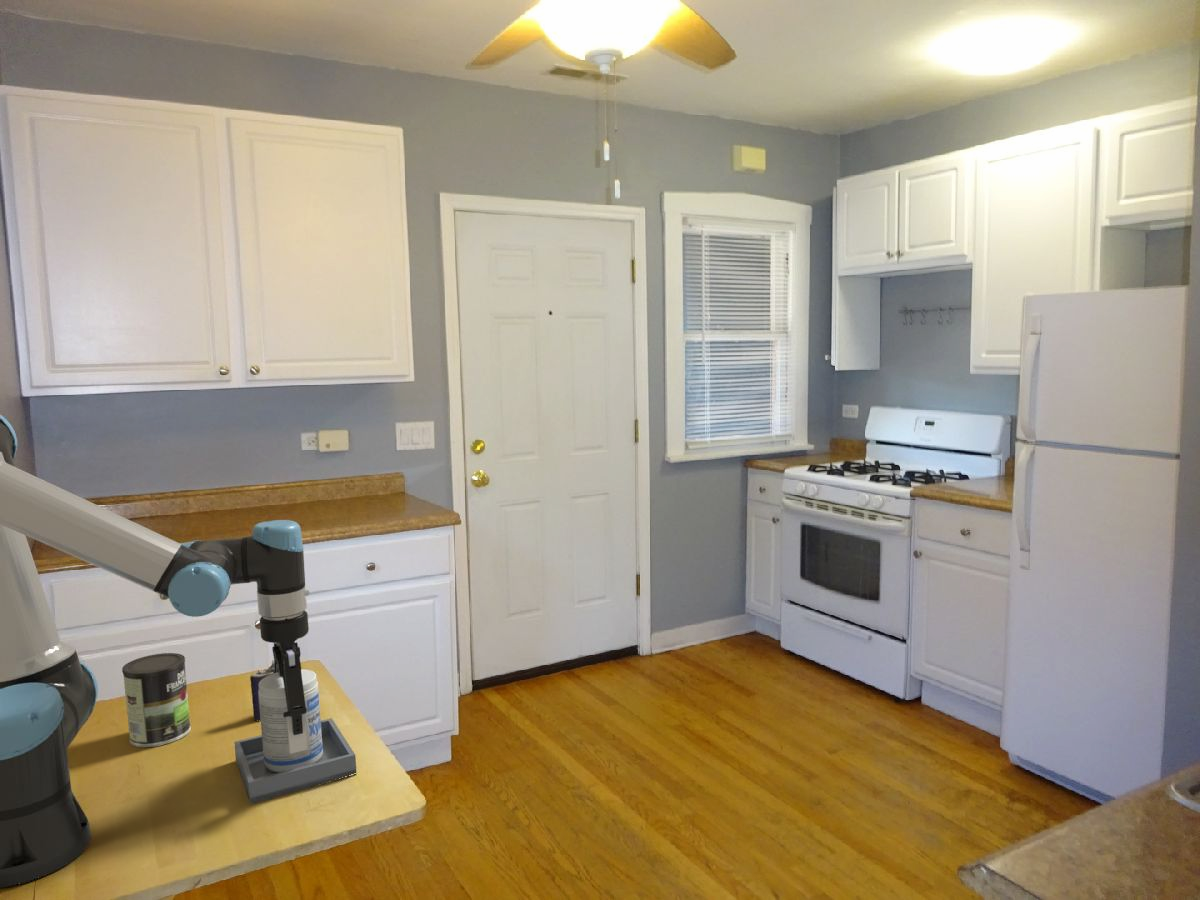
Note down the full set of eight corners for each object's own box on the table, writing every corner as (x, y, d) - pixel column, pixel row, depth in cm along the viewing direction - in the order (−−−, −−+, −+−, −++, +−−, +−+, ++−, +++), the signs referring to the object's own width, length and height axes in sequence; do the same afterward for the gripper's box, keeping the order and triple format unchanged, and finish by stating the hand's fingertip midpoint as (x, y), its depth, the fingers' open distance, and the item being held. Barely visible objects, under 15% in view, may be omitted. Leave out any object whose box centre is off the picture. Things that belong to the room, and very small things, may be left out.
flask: (296, 703, 168) (293, 652, 167) (303, 707, 166) (299, 656, 165) (251, 719, 162) (247, 666, 160) (257, 723, 160) (253, 670, 158)
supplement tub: (326, 767, 140) (320, 683, 138) (265, 780, 136) (259, 694, 134) (319, 743, 149) (314, 664, 147) (262, 755, 145) (256, 674, 143)
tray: (356, 774, 139) (355, 754, 139) (250, 804, 131) (248, 783, 131) (333, 736, 154) (331, 718, 153) (235, 760, 145) (234, 741, 145)
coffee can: (201, 722, 161) (195, 651, 159) (173, 747, 151) (166, 673, 149) (148, 722, 161) (142, 652, 159) (117, 748, 151) (109, 673, 149)
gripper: (319, 631, 130) (328, 759, 132) (296, 591, 152) (304, 702, 154) (268, 639, 126) (278, 772, 129) (251, 597, 148) (260, 711, 151)
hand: (292, 734), depth 142 cm, fingers open, 13 cm apart
